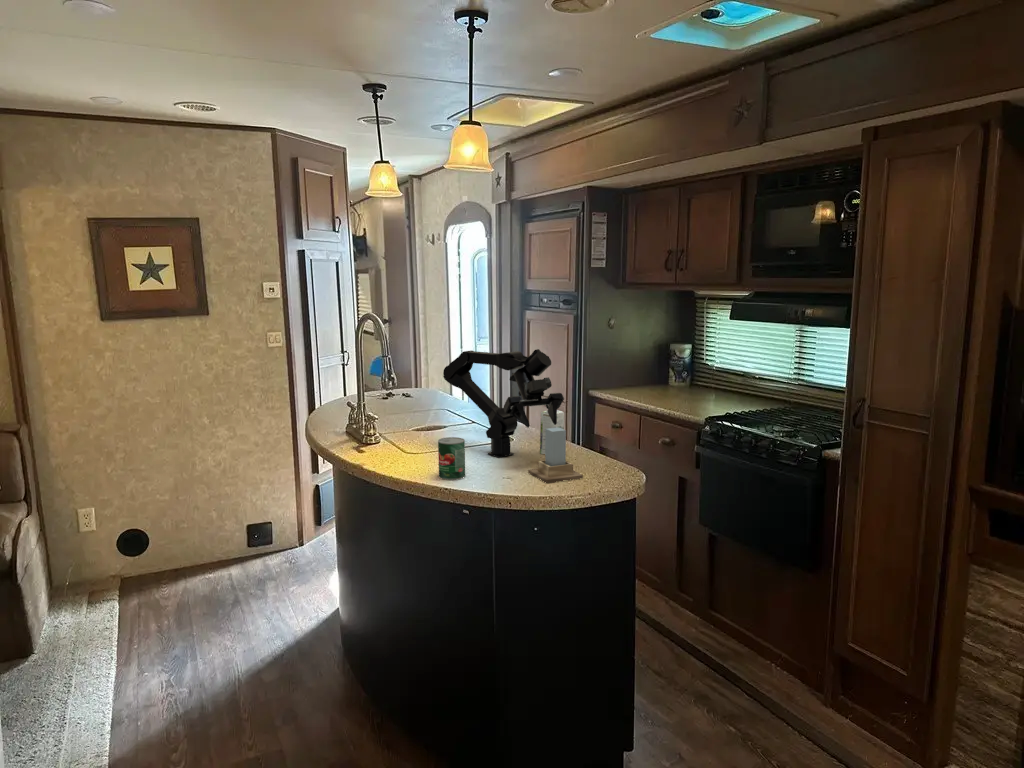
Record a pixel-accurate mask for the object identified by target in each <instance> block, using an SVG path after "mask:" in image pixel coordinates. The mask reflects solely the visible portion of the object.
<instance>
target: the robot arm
mask: <svg viewBox="0 0 1024 768" xmlns="http://www.w3.org/2000/svg"><path fill="white" fill-rule="evenodd" d="M474 364H476V365H479V364H480V365H489V366H496V367H497V368H498V369H500V370H505V371H513V370H515V372H512V373H511V376H510V377H509V381H511V382H515V383H516V385H517V387H518V390H519V391H518V395H516V396H515V395H513V396H507V398H506V401H505V402H504V405H503V407H499V406H498V405H497V404H496V402H494V401H493V400H492V399H491V398H490V397H489V395H487V394H486V392H484V391H483V389H481V388H480V387H479V386H478V384H476V382H475V381H474V380H473V379H472V376H471V372H470V371H471V370H472V369H473V365H474ZM551 365H552V360H551V358H550V356H548V355H547V354H546V353H544V352H543V351H541V350H540V348H539V349H538V348H537V349H534V350H533V351H532V353H531V354H530V355H529V356H526V355H524V354H523V352H521V351H519V350H516V351H510V352H500V353H498V352H497V353H496V352H489V351H488V352H487V351H486V352H485V351H476V350H464V351H463V352H461V353H460V354H459V355H458V356H457V357H456V358H455V359H453V361H451V362H450V363H449V364H448V365H446V366H445V367H444V369H443V375H442V376H443V379H444V380H445V382H447V383H448V384H450V385H451V386H453V387H455V388H458V389H460V390H461V391H462V392H463V393H464V394H465V395H466V396H467V397H468V398H469V399H470V400H471V401H472V402H473V403H474V404H475V405H476V407H478V408H479V410H480V411H481V412H482V413H483V414H484V415H486V416H487V419H488V423H489V428H488V429H487V430H486V431H485V434H486V438H488V439H490V451H487V455H489V456H493V457H496V458H503V457H504V458H505V457H509V456H512V455H514V454H515V453H514V452H511V437H510V436H514V433H515V431H516V430H517V427H518V421H519V422H521V424H522V425H524V426H525V427H526V428H528V429H529V428H530V427H531V426H530V422H529V419H528V417H527V414H526V412H525V407H537V406H539V407H540V406H545V407H546V409H547V410H546V411H547V412H548V414H549V416H550V418H551V420H552V422H553V423H554V425H556V424H557V410H559V408H560V407H561V405H562V403H563V402H564V400H565V398H564V395H563V393H562V392H553V393H552V392H551V393H549V395H548V396H547V398H546V397H545V398H543V396H544V395H545V391H547V390H548V389H550V388H551V387H552V381H551V379H550V377H543V378H542V379H535V377H540V376H541V375H542V374H543V373H544V372H545V371H547V370H548V368H550V366H551ZM534 376H535V377H534Z"/></svg>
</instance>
